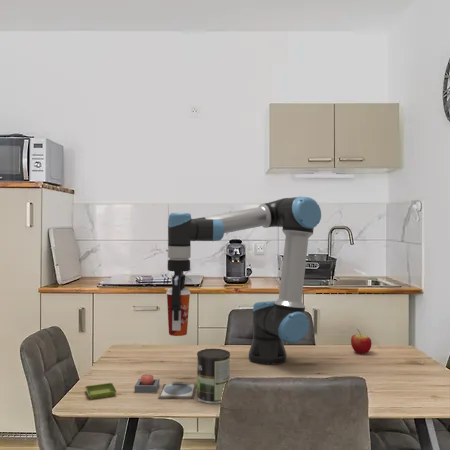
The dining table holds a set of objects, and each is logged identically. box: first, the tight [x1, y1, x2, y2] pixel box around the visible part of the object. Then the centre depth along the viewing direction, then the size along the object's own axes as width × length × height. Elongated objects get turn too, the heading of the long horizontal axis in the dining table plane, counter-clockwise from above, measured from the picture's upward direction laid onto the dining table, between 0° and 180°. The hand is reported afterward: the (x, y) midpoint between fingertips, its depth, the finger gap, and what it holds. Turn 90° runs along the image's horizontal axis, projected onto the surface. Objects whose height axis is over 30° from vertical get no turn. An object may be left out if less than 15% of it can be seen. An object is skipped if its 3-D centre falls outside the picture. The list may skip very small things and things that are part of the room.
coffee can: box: [196, 348, 231, 405], centre depth 150 cm, size 10×10×14 cm
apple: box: [350, 328, 372, 355], centre depth 201 cm, size 8×8×10 cm
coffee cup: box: [165, 287, 192, 337], centre depth 160 cm, size 8×8×15 cm
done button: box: [140, 374, 154, 385], centre depth 158 cm, size 4×4×3 cm
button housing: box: [134, 378, 161, 394], centre depth 158 cm, size 7×7×2 cm
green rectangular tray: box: [84, 382, 117, 400], centre depth 153 cm, size 9×9×2 cm
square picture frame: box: [157, 381, 197, 400], centre depth 155 cm, size 11×12×1 cm
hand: (178, 327), depth 160 cm, fingers closed on coffee cup, 7 cm apart
